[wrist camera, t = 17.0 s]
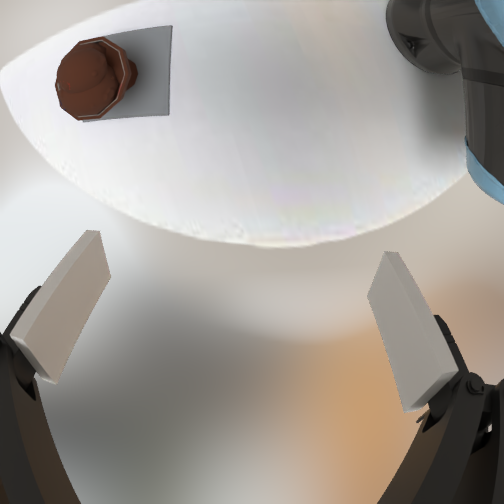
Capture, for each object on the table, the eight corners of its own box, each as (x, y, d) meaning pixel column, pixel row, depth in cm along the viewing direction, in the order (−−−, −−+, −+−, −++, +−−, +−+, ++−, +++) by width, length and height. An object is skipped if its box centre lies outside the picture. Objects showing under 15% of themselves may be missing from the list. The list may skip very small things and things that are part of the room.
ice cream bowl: (92, 47, 30) (28, 49, 17) (158, 39, 30) (108, 26, 18) (90, 110, 36) (29, 134, 23) (154, 107, 36) (105, 126, 24)
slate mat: (172, 26, 30) (171, 25, 29) (169, 114, 37) (167, 115, 37) (83, 42, 29) (81, 41, 29) (84, 121, 37) (82, 122, 37)
